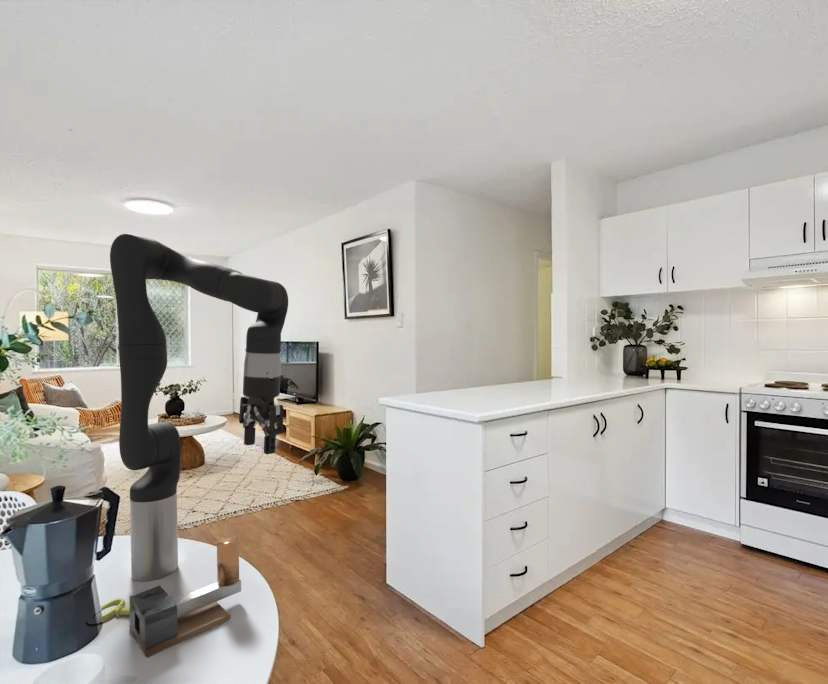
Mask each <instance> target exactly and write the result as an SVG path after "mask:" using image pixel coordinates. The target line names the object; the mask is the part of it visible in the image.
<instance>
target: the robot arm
mask: <svg viewBox="0 0 828 684" xmlns="http://www.w3.org/2000/svg"><path fill="white" fill-rule="evenodd" d="M109 252H110V253H109V263H110V271H111V276H112V278H111V279H112V283H113V288H114V294H115V295H114V296H115V303H116V315H117V325H118V328H117V329H118V357H119V359H118V361H119V369H120V396H121V397H120V398H121V399H120V400H121V402H120V404H121V407H120V423H119V437H118V438H119V440H118V442H119V443H118V446H119V454H120V458H121V461H122V463H123V465H124V466H125V467H126V468H127V469H128V470H130V471H140V470H145V469H147V468H148V469H147V471H146V472H145V473H144V474H143V475H142V476H141V477H140V478H138V480H136V481H134V482H133V483H132V485H131V486H130V488H129V513H130V514H129V516H130V519H129V520H130V521H129V522H130V523H129V524H130V563H131V564H130V569H131V572H130V573H131V578H132V580H135V581H138V582H139V581H142V582H146V581H147V582H148V581H154V580H158V579H161V578H164V577H166V576H168V575H171V574H172V573H174V572H175V571H176V570H177V569H178V568H179V550H178V549H179V545H178V544H179V541H178V539H179V538H178V537H179V536H178V497H177V496H178V495H177V491H178V490H177V489H178V486H177V485H178V483H179V482H180V481H179V480H180V477H181V476H180V475H181V453H182V450H181V449H182V448H181V447H182V445H181V444H182V443H181V436H180V433H179V430H178V429H177V427H176V426H175V425H174V424H173V423H171V422H169V421H160V422H156V423H151V424H149V410H150V405H151V400H152V399H153V396H154V393H155V392H156V390H157V388H158V387H159V385H160V383H161V380H162V379H163V377H164V374H165V372H166V369H167V366H168V348H167V347H168V346H167V344H168V343H167V336H166V333H165V330H164V328H163V326H162V324H161V322H160V320H159V318H158V317H157V314H156V313H155V311H154V309H153V308H152V306H151V303H150V301H149V298H148V289H147V280H158V281H159V280H161V281H167V282H168V281H169V282H174V283H179V284H183V285H185V286H188V287H190V288H191V289H193V290H195V291H197V292H199V293H201V294H204V295H207V296H209V297H212V298H215V299H219V300H222V301H224V302H228V303H231V304H234V305H236V306H238V307H240V308H242V309H245V310H247V311H250V312H253V313H257V316H256V320H255V322H254V324H252V325H250V326H249V327H248V328H247V330H246V343H245V355H244V356H245V357H244V361H243V380H242V381H243V382H242V395H243V396H241V397H240V403H239V416H238V417H239V418H238V422H239V424H242V427H243V429H244V431H243V432H244V437H243V444H244V445H245V446H252V445H255V443H256V425H257V423H258V424H259V427H260V428H262V430H263V433H264V435H265V436H264V439H263V454H265V455H272V454H275V452H276V444H277V443H276V442H277V441H276V439H277V436H278V435H282V434H283V433H284V406H283V404H275V398H276V397H279V396H280V393H281V377H282V374H281V373H282V360H281V346H282V330H283V327H284V326H285V325H284V324H285V321H286V317H287V314H288V308H289V296H288V295H289V294H288V292H287V289H286V287H284V285H282V284H281V283H279V282H277V281H273V280H268V279H263V278H261V277H257V276H256V277H255V276H251V275H248V274H244V273H242V272H240V271H239V270H236V269H233V268H229V267H226V266H223V265H220V264H217V263H212V262H209V261H206V260H205V261H204V260H199V259H196V258H193V257H189V256H187V255H185V254H182V253H180V252H178V251H176V250H174V249H172V248H171V247H168V246H167V245H165V244H163V243H162V242H160V241H157V240H155V239H153V238H148V237H144V236H141V235H139V234H138V235H137V234H133V233H121V234H120V235H119V234H118V236H116V237H115V238H114V239H113V241H112V243H111V247H110V251H109Z"/></svg>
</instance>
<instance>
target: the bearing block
mask: <svg viewBox="0 0 828 684" xmlns="http://www.w3.org/2000/svg"><path fill="white" fill-rule="evenodd" d="M172 599H173V598H172V597H171V596H170V595H169V594H168V592H166V591H165V589H164V588H163V587H162V586H161V585H158V586H155V587H152V588H149V589H145V590H143V591H140V592H138V593H135V594H132V595H129V608H130V615H129V623H130V624H129V625H130V627H131V629H132V630H133V632H134V633H135V635H136V636H137V638H138V640H139V641H140V643H141V644H142V646H143V647H144V649H145V650H147V649H150V648H152V647H154V646H157V645H159V644H161V643H163V642H166V641H168V640H170V639H172V638H175V637H177V604H176V603H175V602H174V601H173V600H172Z"/></svg>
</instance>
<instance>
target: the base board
mask: <svg viewBox="0 0 828 684" xmlns="http://www.w3.org/2000/svg"><path fill="white" fill-rule="evenodd" d="M230 620H231V614H230V613H229V612H228V611H227V610H226V609H225V608H224V607H223V606H222V605H221V604H219V603H218V601H217V602H214V603H212V604H210V605H207V606H205V607H202V608H200V609H198V610H195V611H193V612H190V613H188V614H186V615H183V616H181V617H178V618H177V637H175V638H172V639H170V640H168V641H166V642H163V643H161V644H159V645H157V646H154V647H152V648H150V649H147V650H145V649H144V647H143V646H142V644H141V643H140V641H139V640H138V638H137V636H136V635H135V633H134V632H133V630H132V629H131V627H130V624H129V625H128V627H129V628H128V629H129V632H130V635H131V636H132V637H133V639H134V641H135V642H136V643H137V645H138V647H139V648H140V649H141V651H142V653H143V655H144V656H145V658H146V659H147V658H149V657H151V656H154V655H156V654H158V653H160V652H162V651H164V650H167V649H169V648H171V647H173V646H175V645H178V644H180V643H182V642H184V641H186V640H189V639H191V638H193V637H195V636H198V635H199V634H202V633H204V632H206V631H208V630H210V629H213V628H215V627H217V626H220V625H222V624H224V623H227V622H229V621H230Z"/></svg>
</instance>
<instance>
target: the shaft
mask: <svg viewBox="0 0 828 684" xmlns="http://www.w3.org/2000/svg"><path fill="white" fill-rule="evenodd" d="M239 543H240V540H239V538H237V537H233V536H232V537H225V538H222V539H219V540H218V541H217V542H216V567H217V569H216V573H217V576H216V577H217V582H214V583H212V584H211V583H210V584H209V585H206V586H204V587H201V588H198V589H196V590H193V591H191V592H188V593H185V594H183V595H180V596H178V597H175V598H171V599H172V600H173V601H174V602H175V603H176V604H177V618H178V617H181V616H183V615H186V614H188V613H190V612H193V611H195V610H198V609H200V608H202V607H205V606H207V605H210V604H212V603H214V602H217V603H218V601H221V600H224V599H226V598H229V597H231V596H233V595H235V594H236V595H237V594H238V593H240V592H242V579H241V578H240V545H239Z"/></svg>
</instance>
